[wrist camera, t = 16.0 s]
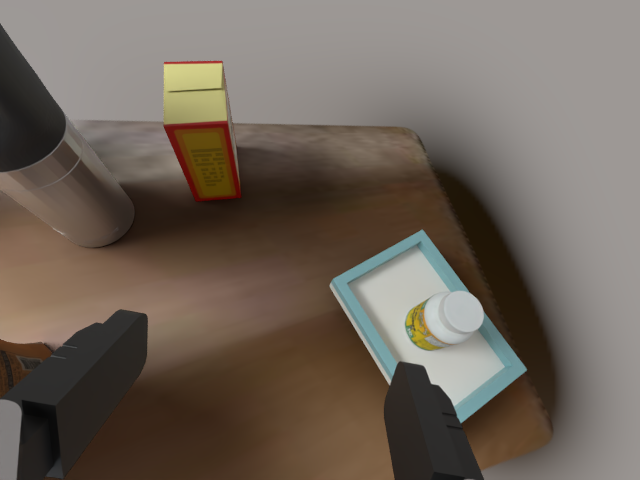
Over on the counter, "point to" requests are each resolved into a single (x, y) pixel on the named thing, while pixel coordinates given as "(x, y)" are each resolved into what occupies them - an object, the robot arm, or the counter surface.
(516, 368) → the shallow teal tray
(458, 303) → the supplement bottle
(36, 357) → the pancake mix bag
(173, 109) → the baking soda box
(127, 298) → the counter surface
